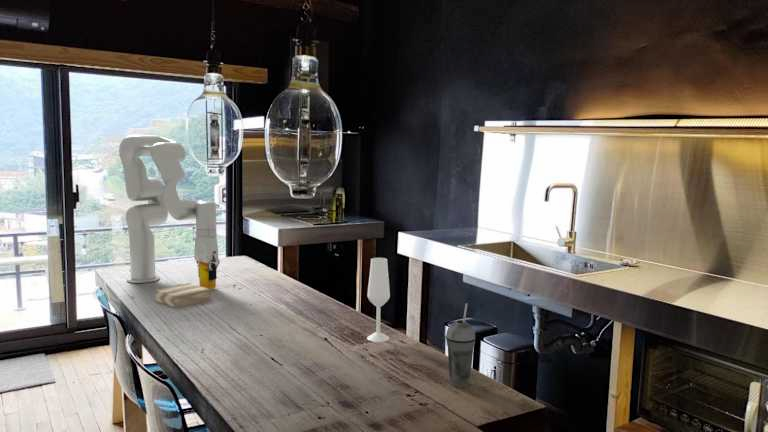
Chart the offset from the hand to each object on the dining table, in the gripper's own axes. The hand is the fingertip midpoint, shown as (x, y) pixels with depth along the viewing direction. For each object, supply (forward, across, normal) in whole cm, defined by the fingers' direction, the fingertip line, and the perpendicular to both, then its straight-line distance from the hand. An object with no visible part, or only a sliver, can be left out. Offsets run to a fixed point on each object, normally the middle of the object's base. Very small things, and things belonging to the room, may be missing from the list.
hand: (207, 277), depth 225 cm
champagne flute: (+5, +87, +1) cm, 87 cm away
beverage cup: (+5, +123, -11) cm, 124 cm away
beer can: (+5, 0, 0) cm, 5 cm away
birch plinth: (+5, +7, -15) cm, 17 cm away
